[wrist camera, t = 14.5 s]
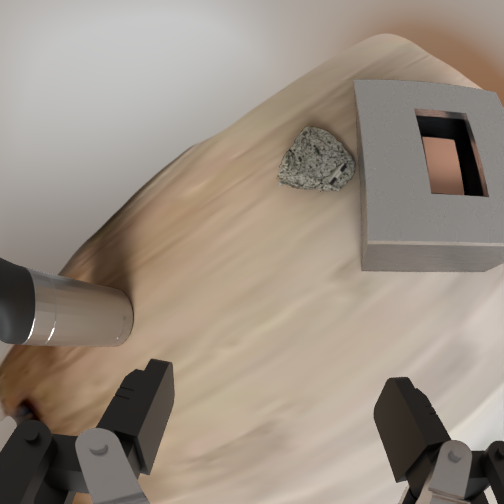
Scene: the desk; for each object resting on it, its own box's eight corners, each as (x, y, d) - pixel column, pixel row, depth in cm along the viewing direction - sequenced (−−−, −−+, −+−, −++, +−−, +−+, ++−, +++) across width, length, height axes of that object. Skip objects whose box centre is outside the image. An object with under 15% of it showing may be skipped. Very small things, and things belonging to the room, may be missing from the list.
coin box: (361, 271, 32) (368, 240, 20) (357, 149, 35) (353, 79, 23) (484, 271, 27) (540, 244, 15) (466, 153, 30) (496, 92, 18)
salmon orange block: (437, 229, 30) (464, 195, 21) (411, 227, 31) (430, 192, 22) (433, 183, 31) (453, 139, 22) (408, 181, 32) (422, 136, 23)
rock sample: (354, 203, 30) (301, 140, 27) (307, 221, 36) (259, 170, 34) (374, 155, 35) (332, 103, 32) (333, 174, 41) (294, 129, 39)
